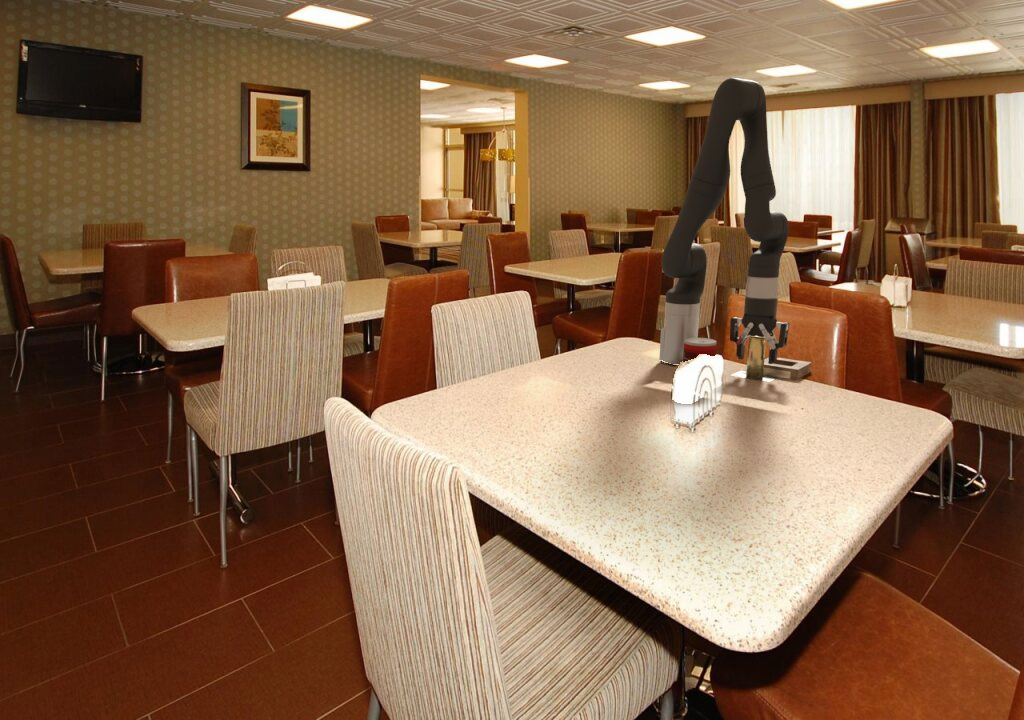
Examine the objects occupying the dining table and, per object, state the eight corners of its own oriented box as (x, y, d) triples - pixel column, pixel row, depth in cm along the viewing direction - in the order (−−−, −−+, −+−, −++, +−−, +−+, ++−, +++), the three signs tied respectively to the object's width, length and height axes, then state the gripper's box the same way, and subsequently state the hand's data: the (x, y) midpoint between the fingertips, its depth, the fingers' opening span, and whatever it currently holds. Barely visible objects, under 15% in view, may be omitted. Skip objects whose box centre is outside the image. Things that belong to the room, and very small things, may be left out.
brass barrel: (743, 376, 168) (746, 337, 166) (749, 373, 171) (752, 335, 169) (759, 379, 166) (762, 339, 164) (765, 376, 169) (768, 337, 167)
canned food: (717, 382, 168) (720, 339, 166) (708, 389, 162) (711, 344, 159) (687, 378, 172) (689, 336, 170) (677, 385, 166) (680, 341, 163)
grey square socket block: (754, 378, 172) (755, 363, 171) (769, 371, 180) (770, 356, 179) (796, 385, 166) (798, 369, 165) (810, 377, 174) (811, 362, 173)
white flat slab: (729, 381, 169) (729, 375, 169) (739, 376, 175) (740, 370, 174) (768, 388, 163) (769, 382, 163) (778, 382, 168) (779, 376, 168)
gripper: (726, 294, 166) (722, 359, 169) (786, 299, 157) (779, 368, 160) (738, 291, 171) (734, 354, 175) (796, 296, 162) (790, 362, 166)
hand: (756, 361), depth 168 cm, fingers open, 7 cm apart
